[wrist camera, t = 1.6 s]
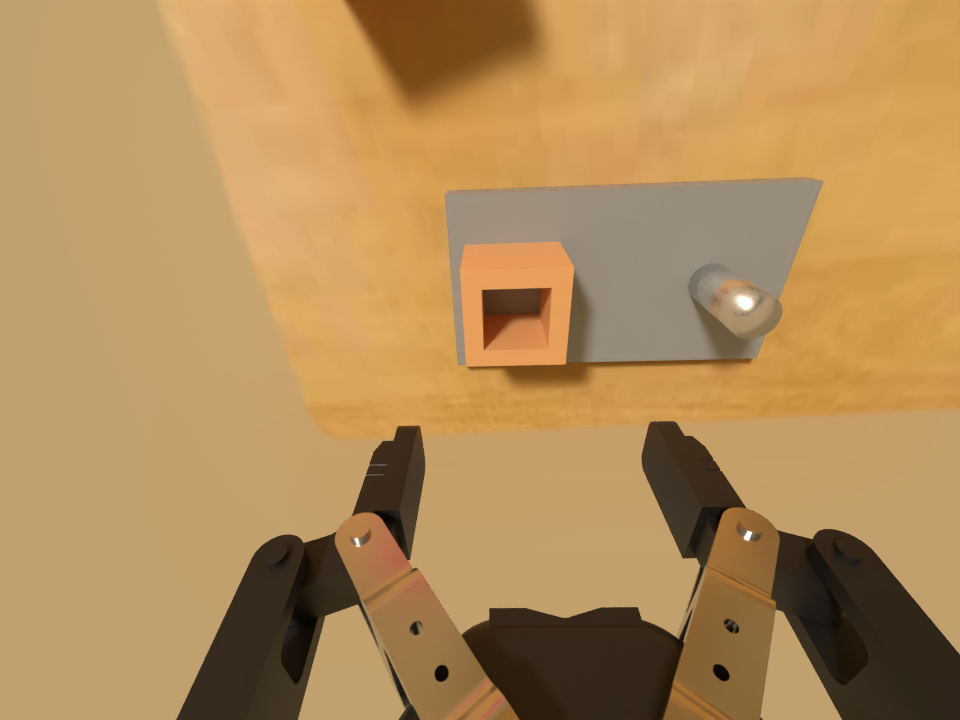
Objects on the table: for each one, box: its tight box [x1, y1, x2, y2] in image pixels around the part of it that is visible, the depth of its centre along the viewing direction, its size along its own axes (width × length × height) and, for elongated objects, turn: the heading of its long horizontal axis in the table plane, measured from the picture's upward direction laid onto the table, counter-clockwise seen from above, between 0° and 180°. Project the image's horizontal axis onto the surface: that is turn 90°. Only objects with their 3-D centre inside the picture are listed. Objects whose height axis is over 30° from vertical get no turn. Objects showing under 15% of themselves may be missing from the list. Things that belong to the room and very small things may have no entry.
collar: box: [460, 242, 574, 367], centre depth 25 cm, size 6×6×5 cm
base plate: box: [445, 178, 823, 365], centre depth 27 cm, size 12×22×2 cm, turn 92°
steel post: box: [688, 263, 782, 339], centre depth 25 cm, size 3×3×7 cm
